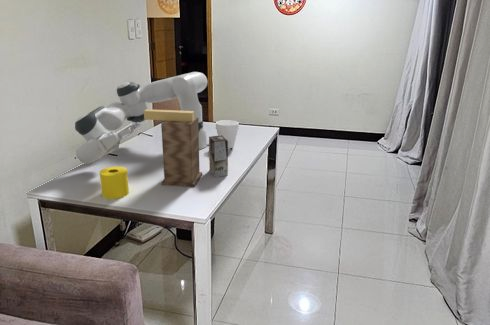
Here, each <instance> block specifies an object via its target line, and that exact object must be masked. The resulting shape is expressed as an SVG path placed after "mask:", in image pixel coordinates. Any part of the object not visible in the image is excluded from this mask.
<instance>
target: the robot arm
mask: <svg viewBox="0 0 490 325" xmlns="http://www.w3.org/2000/svg"><path fill="white" fill-rule="evenodd" d="M207 87H208V78H207V76H206V75H205V74H204V73H203V72H199V71H192V72H188V73H183V74H180V75H175V76H172V77H171V76H170V77H168V78H164V79H160V80H156V81H152V82H149V83H146V84H145V85H143V86H142V87H141V85H140V84H137V83H135V82H133V81H132V82H131V81H127V82H126V81H125V82H123V83H121V84H120V85H118V86H117V88H116V95H117V96H118V97H119V100H120V102H117V101H114V102H111V103H110V104H109V105H107V106H103V105H102V106H98V107H96V108H95V109H94V110H92V111H90V112H88V113H85V114H83V115H81V116H80V117H78V118H77V119H76V120H75V123H74V129H75V131H76V132H77V133H78V134H79V135H81V136H82V137H83V139H84V140H85V142H84V143H82V144H81V145H80V146H79V147H77V149H76V150H75V151H74V152H75V155H76V157H77V159H78V160H79V161H80V162H81V163H83V164H85V165H88V164H91V163H93V162H95V161H98V160H99V159H101V158H103V157H104V156H106V155H110V153H112V152H114V151H116V150H117V149H119V147H120V144H121V141H122V140H124V139H125V138H126V137H128V136H129V135H131V134H132V133H134V132H135V131H137V128H139V127H141V124H140V123H142V122H144V121H145V120H144V111H145V110H146V109H148V107H147V104H155V103H156V104H157V103H162V102H166V101H170V100H175V99H177V100H178V103H179V107H180V108H179V109H180V111H194V117H198V130H199V150H203V149H205V148H206V147H209V141H207V140H208V139H207V131H206V129H205V128H204V121H203V106H202V104H201V103H200V101H199V96H198V93H201V92H203V91H204V90H205V89H206V88H207ZM146 103H147V104H146ZM126 120H127V121H128V122H132V123H129V124H126V126H123V125H124V123H125V121H126ZM122 126H123V127H122ZM121 127H122V128H121ZM116 130H117V131H116Z"/></svg>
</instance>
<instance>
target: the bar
mask: <svg viewBox="0 0 490 325" xmlns="http://www.w3.org/2000/svg"><path fill="white" fill-rule="evenodd" d="M146 120H148V121H149V120H150V121H164V120H167V121H189V122H193V121H194V120H195V119H194V111H181V110H176V109H174V110H173V109H150V108H147V109H146V110H145V111H144V121H146Z"/></svg>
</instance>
